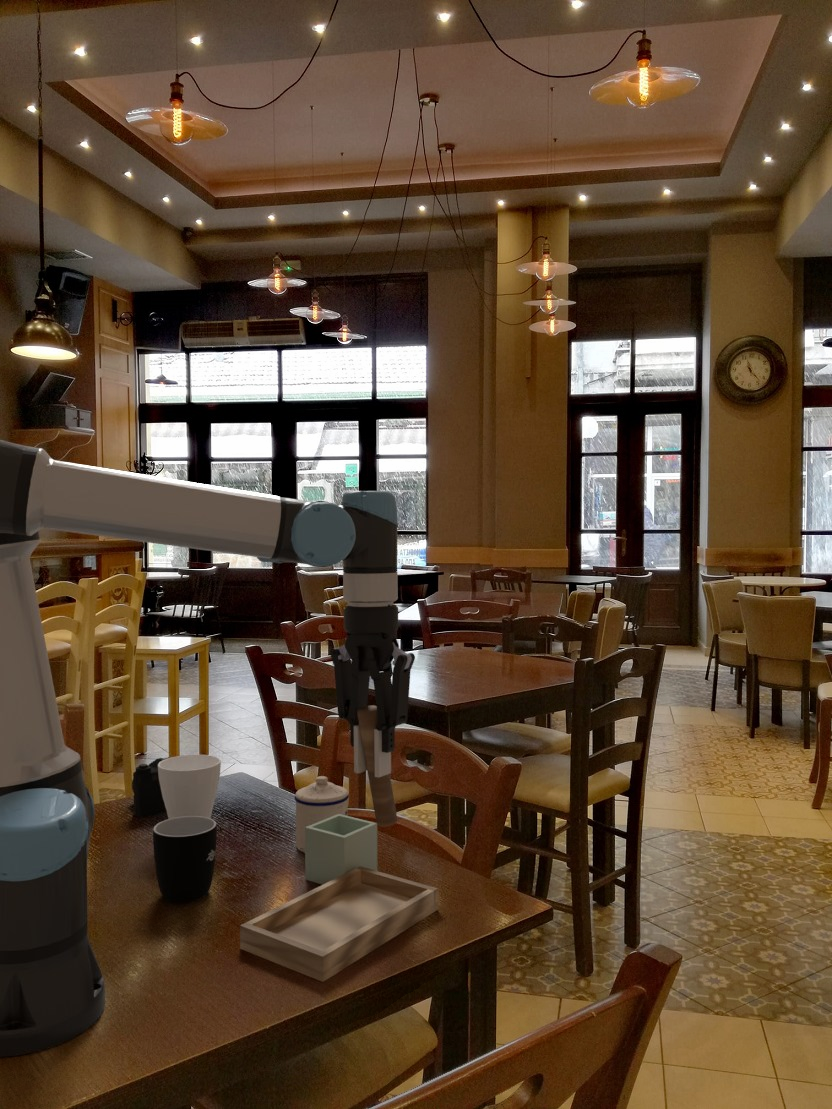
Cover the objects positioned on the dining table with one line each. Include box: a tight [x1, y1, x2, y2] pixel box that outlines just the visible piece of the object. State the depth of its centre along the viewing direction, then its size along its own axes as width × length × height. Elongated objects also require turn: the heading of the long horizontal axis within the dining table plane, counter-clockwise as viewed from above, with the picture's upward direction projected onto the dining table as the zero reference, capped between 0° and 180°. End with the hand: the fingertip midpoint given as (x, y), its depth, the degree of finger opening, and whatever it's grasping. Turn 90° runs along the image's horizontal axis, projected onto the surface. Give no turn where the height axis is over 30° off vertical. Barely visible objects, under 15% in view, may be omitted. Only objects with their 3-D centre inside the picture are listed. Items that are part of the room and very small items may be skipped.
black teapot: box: [131, 756, 171, 818], centre depth 169 cm, size 14×11×10 cm
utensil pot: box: [304, 814, 378, 885], centre depth 134 cm, size 8×8×8 cm
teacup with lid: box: [294, 775, 350, 854], centre depth 148 cm, size 12×9×12 cm
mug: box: [152, 816, 218, 904], centre depth 129 cm, size 12×9×10 cm
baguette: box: [357, 704, 398, 828], centre depth 122 cm, size 6×3×17 cm, turn 144°
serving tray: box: [239, 866, 439, 983], centre depth 116 cm, size 24×14×3 cm, turn 144°
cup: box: [158, 754, 222, 820], centre depth 149 cm, size 10×10×14 cm
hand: (372, 772), depth 121 cm, fingers closed on baguette, 3 cm apart
